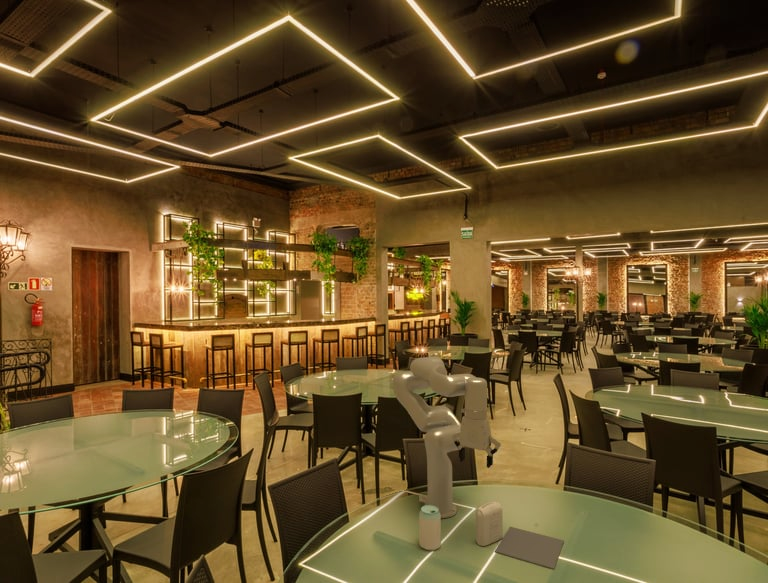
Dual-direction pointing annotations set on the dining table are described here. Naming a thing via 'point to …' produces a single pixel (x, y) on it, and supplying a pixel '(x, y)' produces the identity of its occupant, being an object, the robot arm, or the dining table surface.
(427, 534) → the can
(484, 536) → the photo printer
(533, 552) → the rubber mat
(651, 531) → the dining table surface
